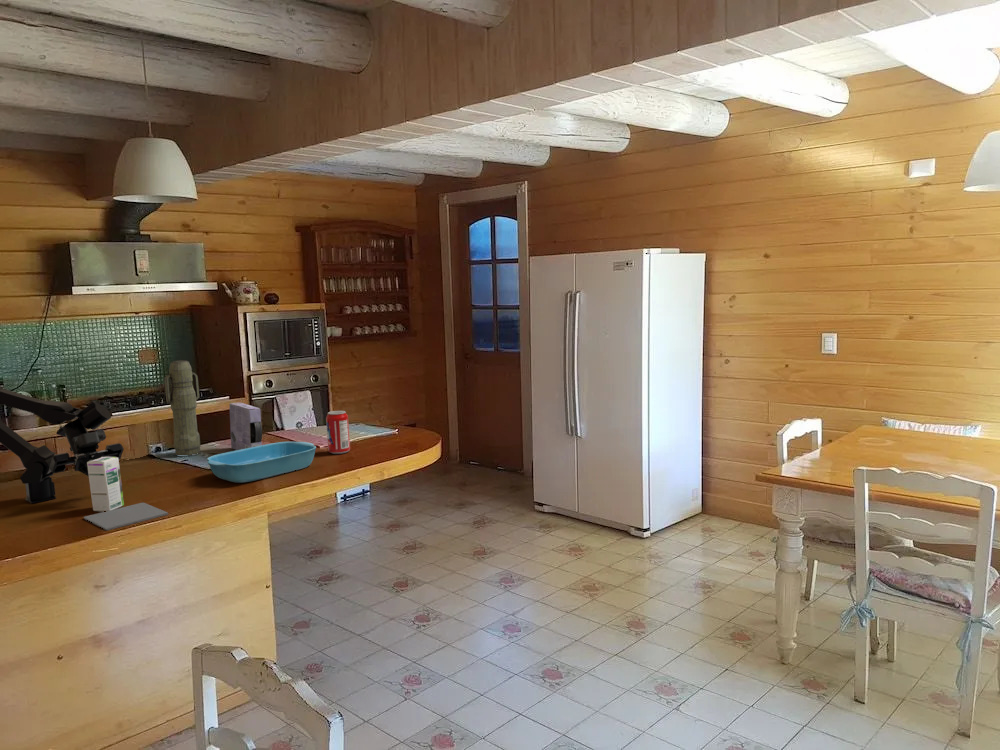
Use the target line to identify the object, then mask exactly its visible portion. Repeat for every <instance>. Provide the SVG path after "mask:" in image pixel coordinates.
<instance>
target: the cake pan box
mask: <svg viewBox="0 0 1000 750" xmlns="http://www.w3.org/2000/svg"><path fill="white" fill-rule="evenodd" d="M228 405H229V425H230V426H229V427H230V448H231V449H232V450H234V451H236V450H241V449H246V448H251V447H256V446H261V445H263V443H262V438H263V428H262V426H263V425H262V418H261V417H262V416H261V415H262V413H261V408H260V407H256V406H253V405H250V404H247V403H243V402H230V403H229V404H228Z"/></svg>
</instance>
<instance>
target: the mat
mask: <svg viewBox="0 0 1000 750" xmlns="http://www.w3.org/2000/svg"><path fill="white" fill-rule="evenodd" d="M168 515H169V512H168V511H165V510H163V509H161V508H159V507H155V506H154V505H151V504H149V503H145V502H139V503H135V504H131V505H127V506H121V507H119V508H116V509H114V510H110V511H106V512H104V511H101V512H98V513H94V514H90V515H85V516H83V518H84V519H83V520H85V521H87V520H88V521H87V522H89V521H90V522H89V523H91V522H92V523H91V524H92V525H95V526H97V527H99V528H100V527H101V529H102V528H103V529H102V530H104V531H110V530H114V529H118V528H121V527H126V526H129V525H133V524H138V523H141V522H144V521H148V520H152V519H156V518H159V517H163V516H168Z"/></svg>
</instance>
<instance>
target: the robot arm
mask: <svg viewBox="0 0 1000 750" xmlns="http://www.w3.org/2000/svg"><path fill="white" fill-rule="evenodd" d="M0 404H1V405H3V406H5V407H6V406H7V407H11V408H13V409H17V410H20V411H22V412H23V411H24V412H26V413H27V412H28V413H31V414H33V415H35V416H37V417H39V418H40V419H41V420H43V421H45V422H47V423H49V424H51V425H53V426H55V425H57V426H58V425H59V428H58V430H57V431H56V435H58V436H60V437H66V439H67V443H68V444H69V450H70V452H72V453H73V456H70V454H69V452H64V453H63V452H62V453H58V454H56V453H57V452H55V451H52V450H50V448H48V446H46V445H41V446H39V447H37V446H34V445H33V444H31V443H30V442H29V441H27V440H26V439H25V438H23V437H22V436H21V435H20V434H18V433H17V432H15V431H14V430H13V429H12V428H10V427H9V426H8V425H7V424H5V423H4V422H3V421H1V420H0V444H1V445H3V447H5V448H7V449H8V450H9V451H10V452H11V453H13V454H14V455H15V456H17V457H18V458H19V460H20V461H21V464H22V466H23V467H24V468H25V471H24V472H23V473H22V474H21V475H20V477H19V479H20V481H21V482H22V484H23V485H25V495H26V498H24V501H26V502H29V503H30V504H37V503H40V502H44V501H45V502H46V501H49V500H53V499H56V498H57V496H56V487H55V482H54V481H53V479H52V477H51V476H54V474H59V473H63V472H65V470H66V469H67V465H74V471H75V472H80V473H81V474H84V475H85V476H87V477H88V478H89V474H88V466H87V462H89V461H92V460H95V459H99V458H101V457H118V459H119V461H120V460H121V458H122V454H123V453H124V447H123V445H122V444H121V443H119V442H117V443H111V444H107V445H106V447H105V449H103V450H99V451H97V450H98V449H99V447H100V446H99V444H100V443H101V442H102V441H105V440H106V438H107V435H106V433H105V429H103V428H100V429H98V428H99V427H100V426H102V425H103V424H105V423H106V422H107V421H109V420H110V419H111V418H112V416H111V413H110V410H108V408H106V407H105V406H104V405H102V404H99V402H98V401H96V400H95V401H92V402H90V403H89V404H88V406H86V407H85V408H83V409H81V408H78V407H74V406H73V405H72V404H70V403H69V402H64V401H56V400H45V399H43V400H42V399H39V398H35V397H32V396H29V395H25V394H22V393H19V392H16V391H12V390H8V389H5V388H4V387H1V386H0ZM66 422H67V423H66ZM64 423H65V424H64ZM61 424H64V425H63V426H62V425H61ZM88 430H94V431H92V432H89V431H88Z"/></svg>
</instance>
